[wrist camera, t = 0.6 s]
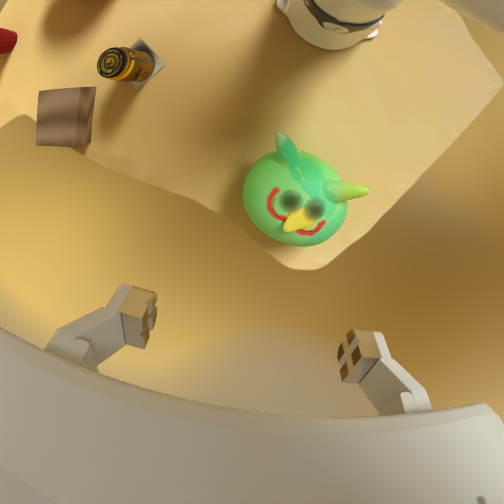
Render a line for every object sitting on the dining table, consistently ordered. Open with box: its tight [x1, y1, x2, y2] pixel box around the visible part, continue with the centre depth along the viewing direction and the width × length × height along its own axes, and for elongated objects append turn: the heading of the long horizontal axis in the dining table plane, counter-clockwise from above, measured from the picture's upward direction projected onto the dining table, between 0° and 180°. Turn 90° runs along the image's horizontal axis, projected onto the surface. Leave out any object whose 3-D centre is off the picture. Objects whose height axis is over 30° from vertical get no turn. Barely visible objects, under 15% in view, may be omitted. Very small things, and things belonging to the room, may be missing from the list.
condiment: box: [97, 39, 165, 90], centre depth 36 cm, size 7×8×12 cm
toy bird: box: [242, 132, 369, 247], centre depth 46 cm, size 18×17×15 cm
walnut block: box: [36, 87, 96, 147], centre depth 43 cm, size 12×12×6 cm
